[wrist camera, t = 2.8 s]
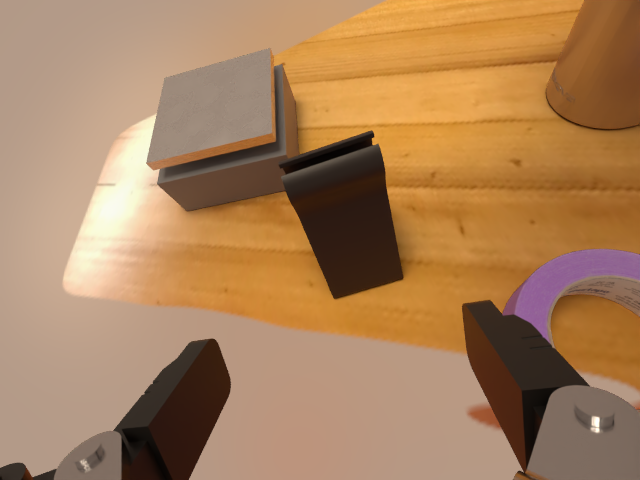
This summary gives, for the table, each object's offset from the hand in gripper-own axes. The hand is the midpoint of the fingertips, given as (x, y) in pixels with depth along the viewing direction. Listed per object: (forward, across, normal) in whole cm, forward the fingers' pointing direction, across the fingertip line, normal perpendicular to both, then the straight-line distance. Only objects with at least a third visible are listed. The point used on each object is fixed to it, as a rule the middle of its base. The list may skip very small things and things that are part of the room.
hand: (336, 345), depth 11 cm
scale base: (+29, +11, -7) cm, 32 cm away
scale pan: (+25, +11, -11) cm, 29 cm away
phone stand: (+20, 0, +3) cm, 20 cm away
